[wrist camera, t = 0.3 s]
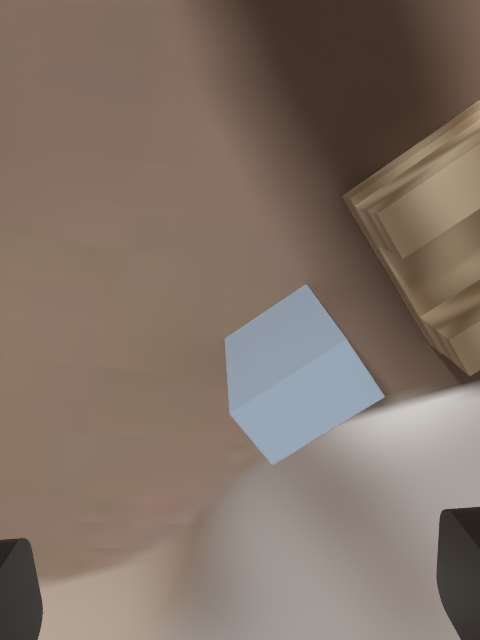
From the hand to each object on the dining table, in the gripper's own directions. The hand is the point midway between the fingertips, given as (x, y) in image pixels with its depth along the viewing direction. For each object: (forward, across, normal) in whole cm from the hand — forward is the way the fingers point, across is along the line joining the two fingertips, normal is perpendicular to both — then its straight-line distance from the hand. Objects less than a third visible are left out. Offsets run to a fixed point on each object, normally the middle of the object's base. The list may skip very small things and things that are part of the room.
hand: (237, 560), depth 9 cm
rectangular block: (+24, -4, +2) cm, 24 cm away
